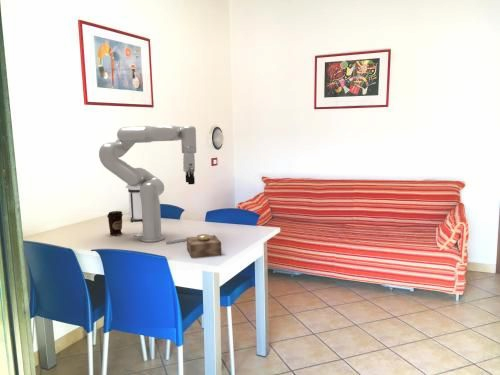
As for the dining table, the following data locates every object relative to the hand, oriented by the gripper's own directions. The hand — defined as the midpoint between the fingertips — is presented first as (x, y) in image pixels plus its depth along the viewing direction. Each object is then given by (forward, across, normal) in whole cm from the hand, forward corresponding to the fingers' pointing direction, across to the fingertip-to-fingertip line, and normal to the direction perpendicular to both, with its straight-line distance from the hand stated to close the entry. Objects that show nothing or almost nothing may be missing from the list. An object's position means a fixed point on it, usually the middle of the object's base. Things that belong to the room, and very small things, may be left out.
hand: (190, 183), depth 213 cm
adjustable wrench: (+31, 0, -2) cm, 31 cm away
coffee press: (+31, -64, -24) cm, 75 cm away
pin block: (+30, +25, +2) cm, 39 cm away
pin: (+30, +25, +2) cm, 39 cm away
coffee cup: (+31, -26, -39) cm, 56 cm away
